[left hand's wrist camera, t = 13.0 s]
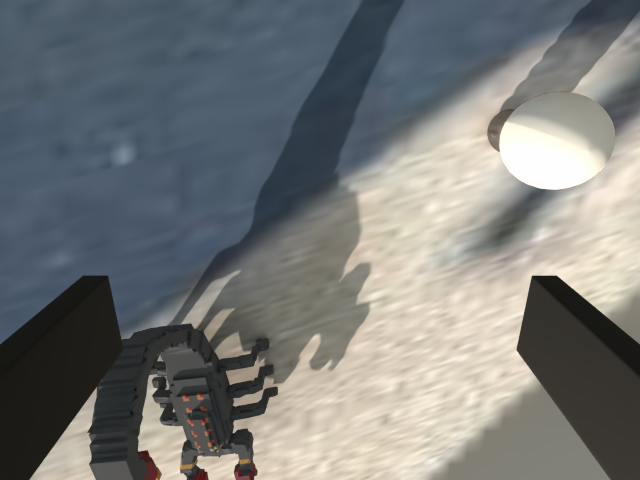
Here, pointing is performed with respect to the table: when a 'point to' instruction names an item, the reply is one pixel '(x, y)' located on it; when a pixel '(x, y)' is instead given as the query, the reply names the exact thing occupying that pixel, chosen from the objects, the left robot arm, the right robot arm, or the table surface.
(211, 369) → the toy
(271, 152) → the table surface
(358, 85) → the table surface
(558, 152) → the light bulb
